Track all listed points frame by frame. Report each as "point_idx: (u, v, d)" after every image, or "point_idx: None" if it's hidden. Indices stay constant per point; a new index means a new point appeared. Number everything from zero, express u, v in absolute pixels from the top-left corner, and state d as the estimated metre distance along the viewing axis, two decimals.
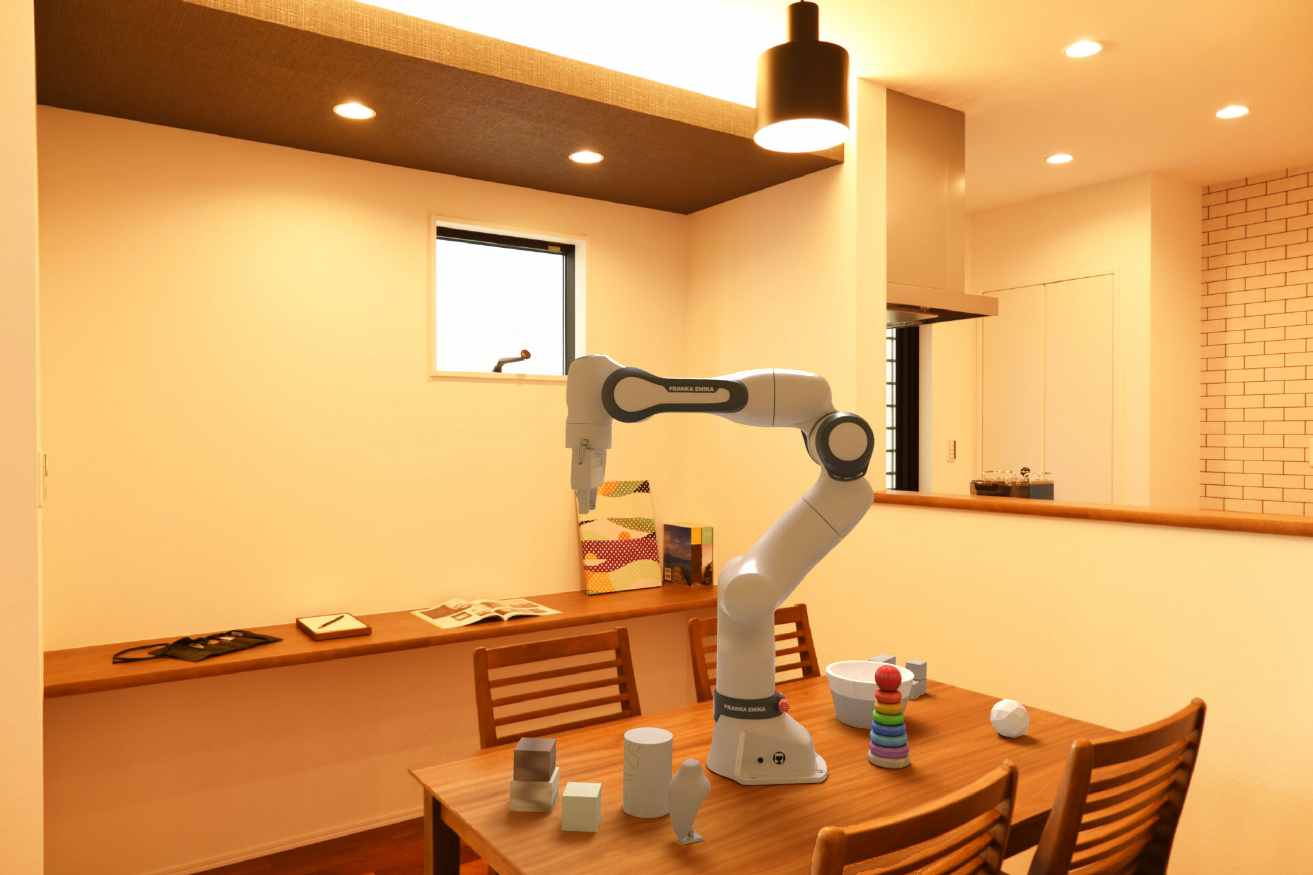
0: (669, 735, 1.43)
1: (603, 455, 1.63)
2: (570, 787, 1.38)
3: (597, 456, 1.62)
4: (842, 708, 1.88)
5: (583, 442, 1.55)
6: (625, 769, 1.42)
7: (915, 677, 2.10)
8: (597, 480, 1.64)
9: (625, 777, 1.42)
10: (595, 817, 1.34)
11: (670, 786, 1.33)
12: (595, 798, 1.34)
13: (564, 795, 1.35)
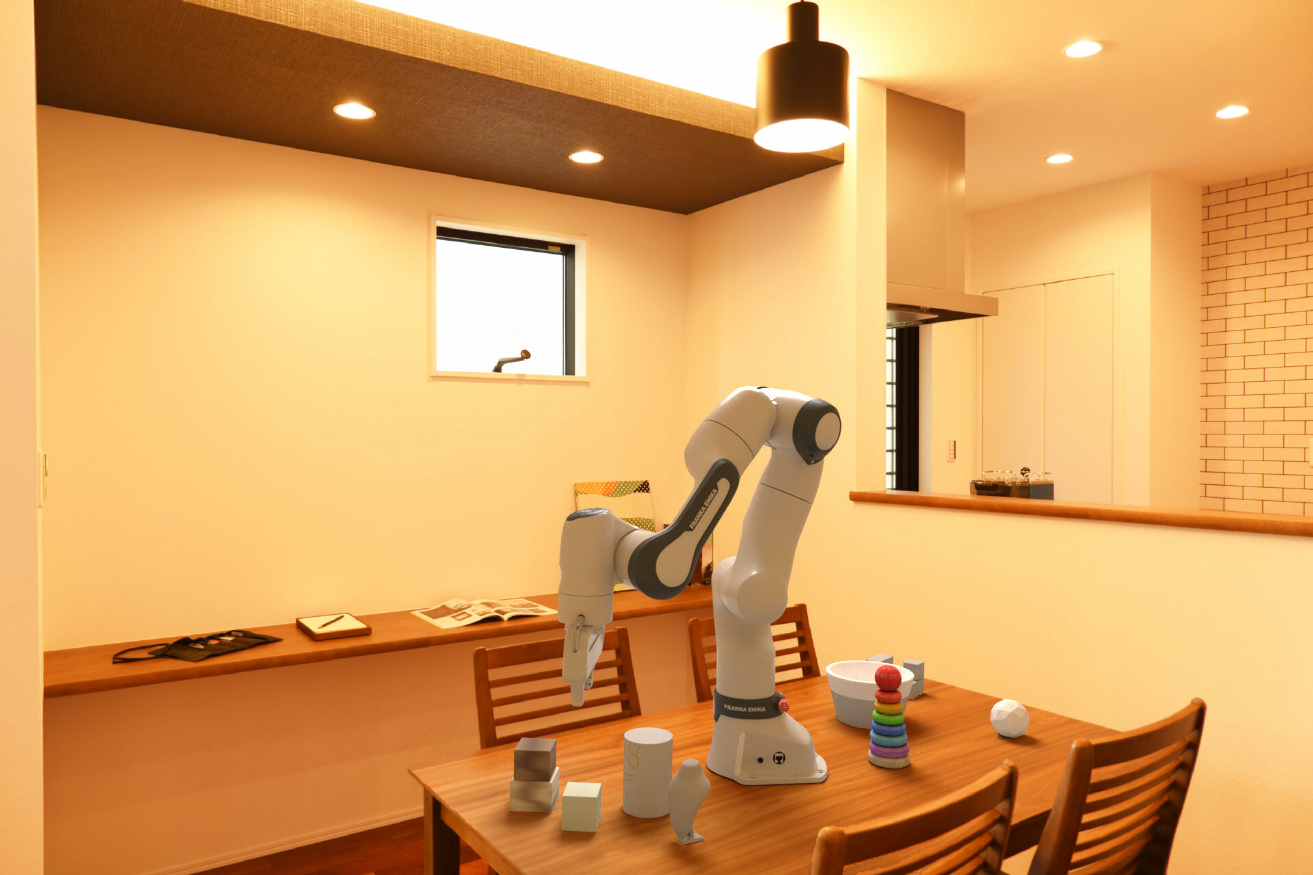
0: (669, 735, 1.43)
1: (602, 630, 1.37)
2: (570, 787, 1.38)
3: (595, 633, 1.35)
4: (842, 708, 1.88)
5: (578, 624, 1.29)
6: (625, 769, 1.42)
7: None
8: (595, 658, 1.38)
9: (625, 777, 1.42)
10: (595, 817, 1.34)
11: (670, 786, 1.33)
12: (595, 798, 1.34)
13: (564, 795, 1.35)
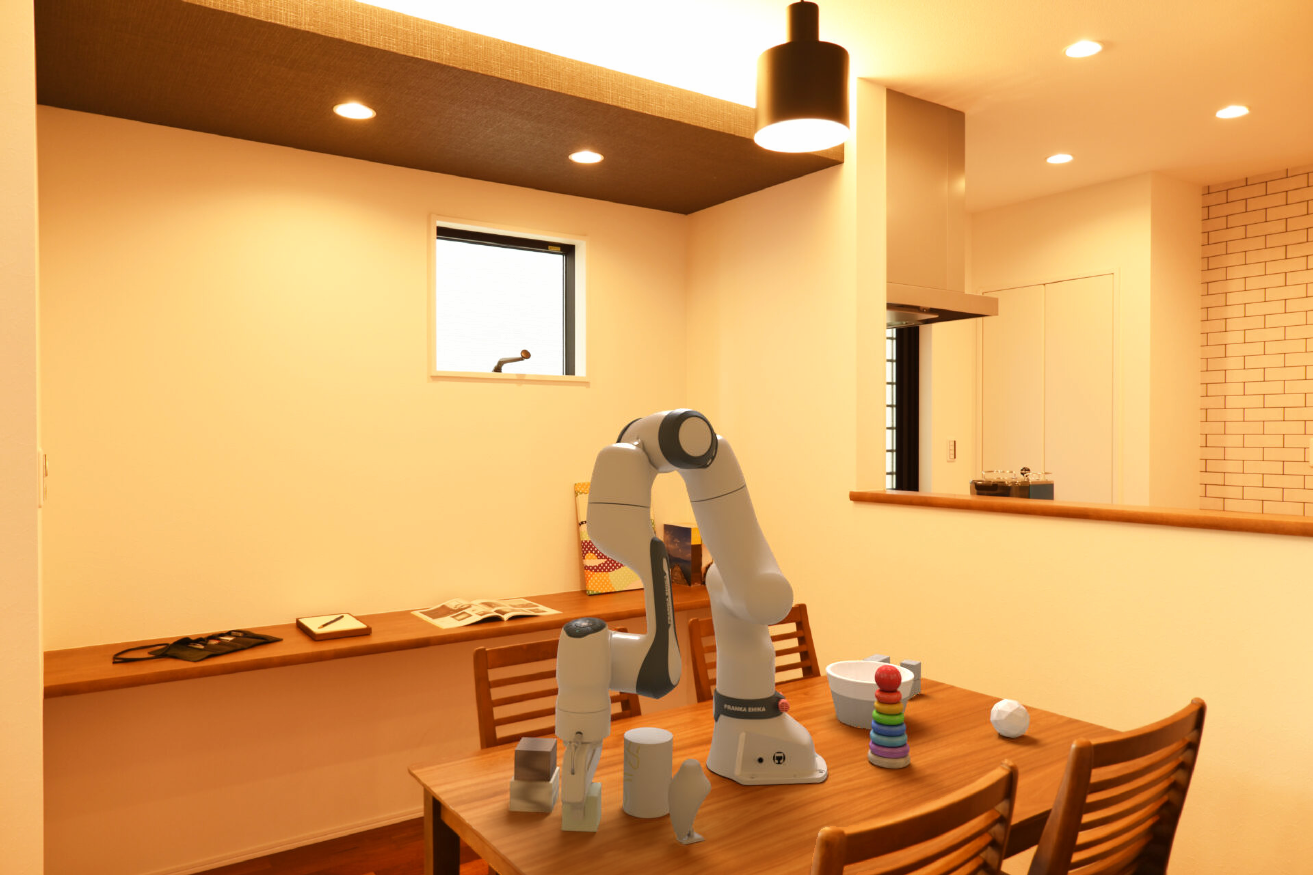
0: (669, 735, 1.43)
1: (600, 743, 1.36)
2: None
3: (593, 748, 1.35)
4: (842, 708, 1.88)
5: (576, 745, 1.28)
6: (625, 769, 1.42)
7: None
8: (593, 771, 1.37)
9: (625, 777, 1.42)
10: (595, 816, 1.34)
11: (670, 786, 1.33)
12: (595, 797, 1.34)
13: None
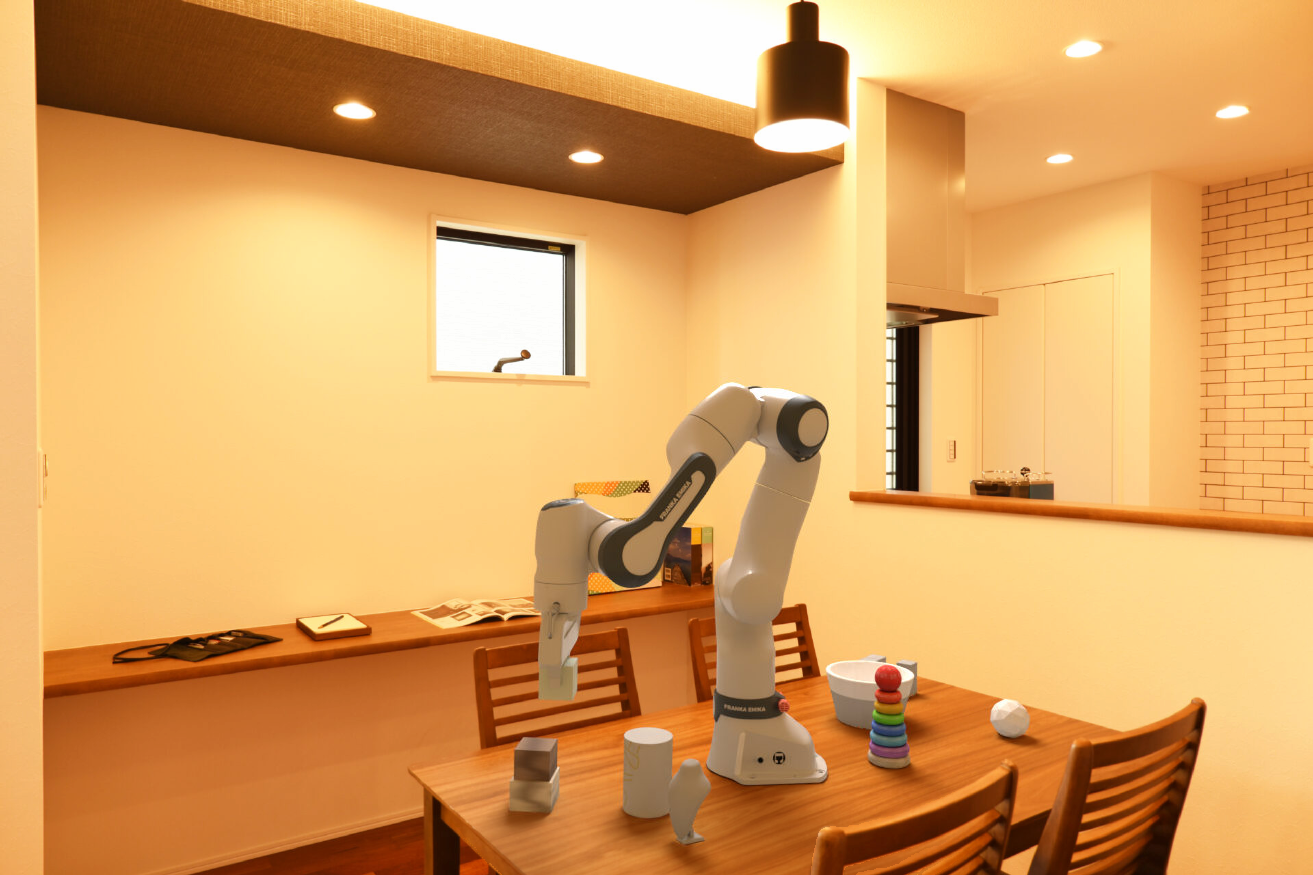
0: (669, 736, 1.43)
1: (577, 617, 1.40)
2: None
3: (570, 620, 1.38)
4: (842, 708, 1.88)
5: (553, 611, 1.32)
6: (625, 769, 1.42)
7: None
8: (570, 645, 1.41)
9: (625, 777, 1.42)
10: (571, 686, 1.38)
11: (670, 786, 1.33)
12: (571, 667, 1.38)
13: None
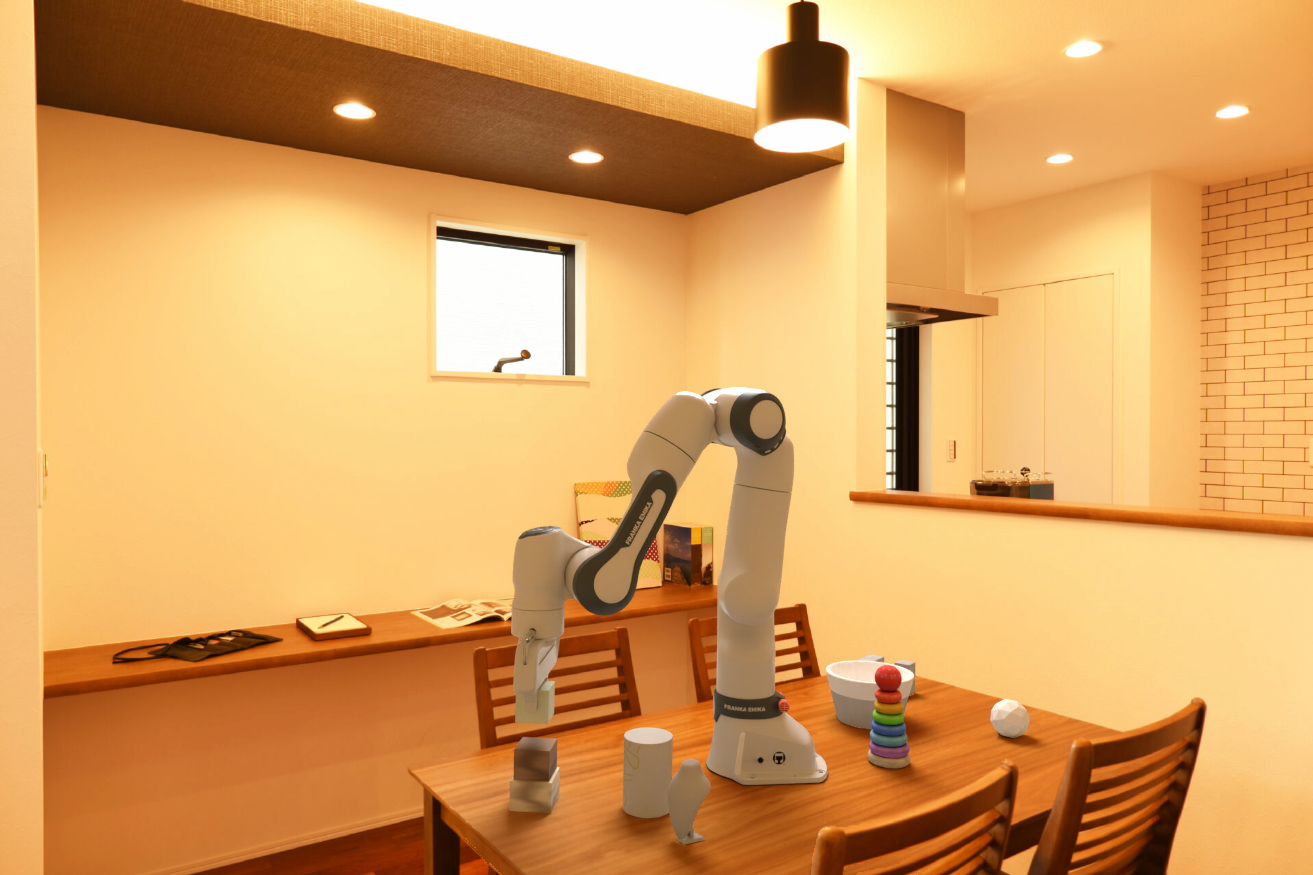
0: (669, 735, 1.43)
1: (554, 642, 1.44)
2: None
3: (546, 645, 1.42)
4: (842, 708, 1.88)
5: (528, 638, 1.36)
6: (625, 769, 1.42)
7: None
8: (547, 669, 1.45)
9: (625, 777, 1.42)
10: (547, 709, 1.42)
11: (670, 786, 1.33)
12: (547, 691, 1.42)
13: None
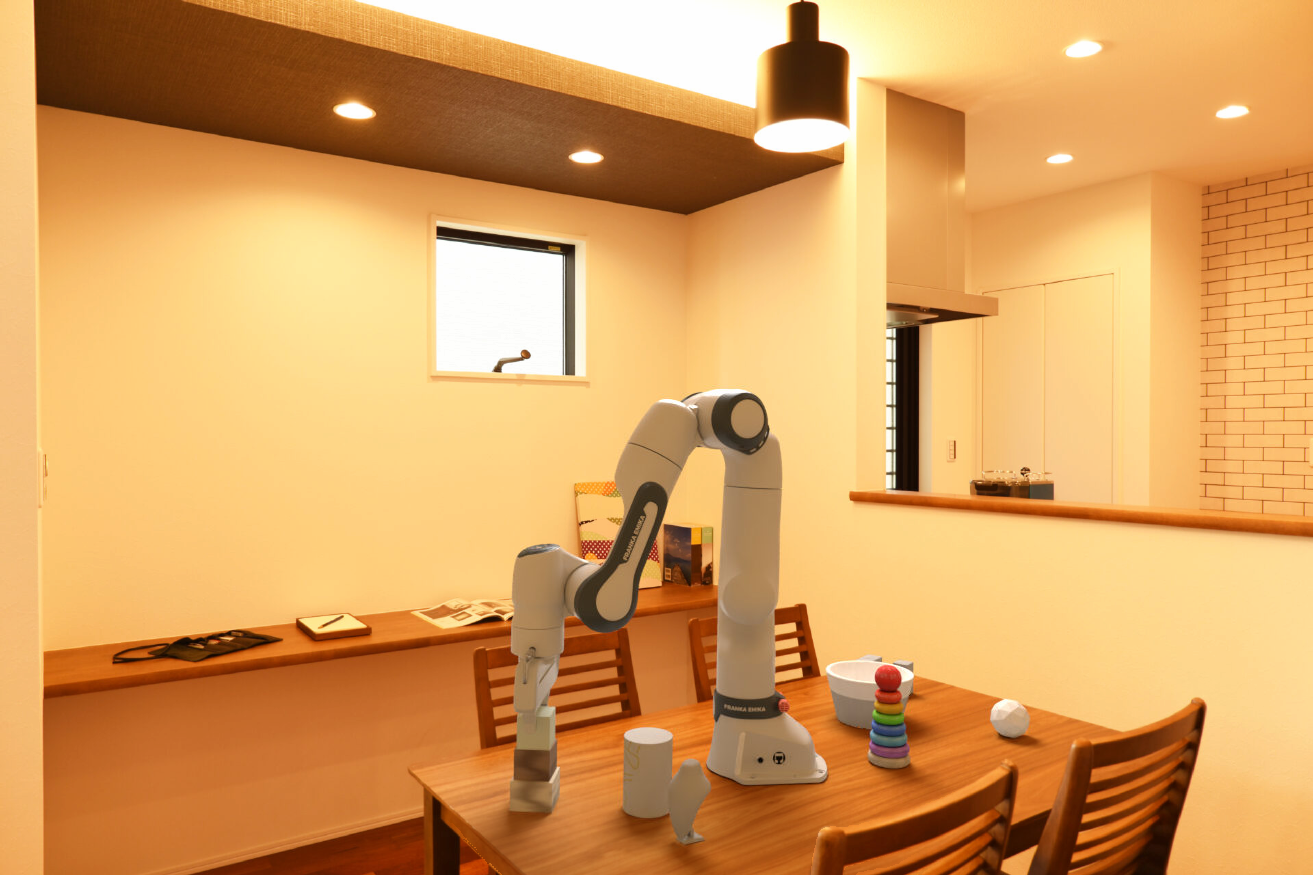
0: (669, 735, 1.43)
1: (554, 660, 1.44)
2: None
3: (546, 663, 1.42)
4: (842, 708, 1.88)
5: (528, 657, 1.36)
6: (625, 769, 1.42)
7: None
8: (547, 687, 1.45)
9: (625, 777, 1.42)
10: (548, 736, 1.42)
11: (670, 786, 1.33)
12: (548, 718, 1.42)
13: (519, 715, 1.42)
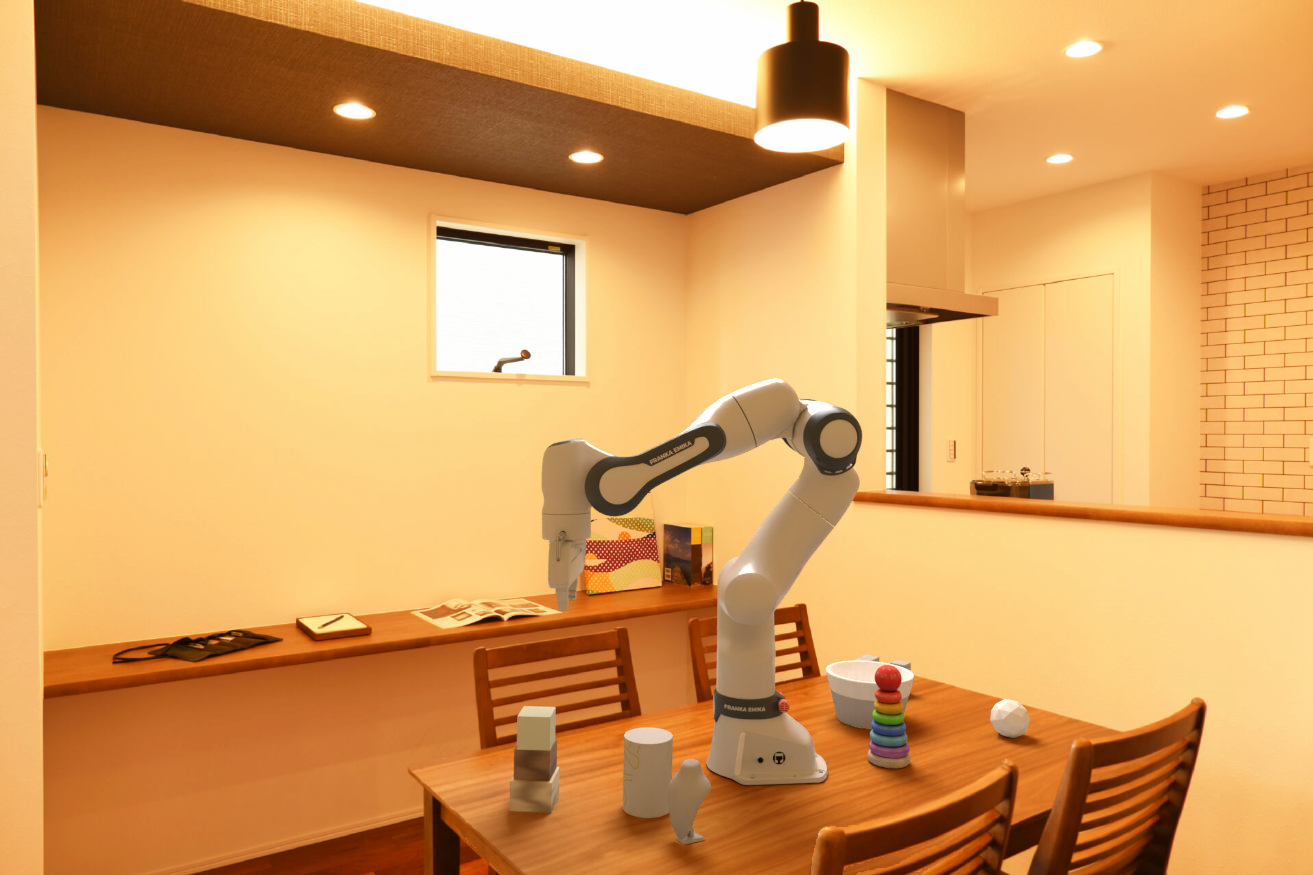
0: (669, 736, 1.43)
1: (582, 545, 1.54)
2: (525, 710, 1.45)
3: (576, 547, 1.53)
4: (842, 708, 1.88)
5: (560, 537, 1.46)
6: (625, 769, 1.42)
7: None
8: (577, 571, 1.55)
9: (625, 777, 1.42)
10: (548, 736, 1.42)
11: (670, 786, 1.33)
12: (548, 718, 1.42)
13: (519, 716, 1.42)
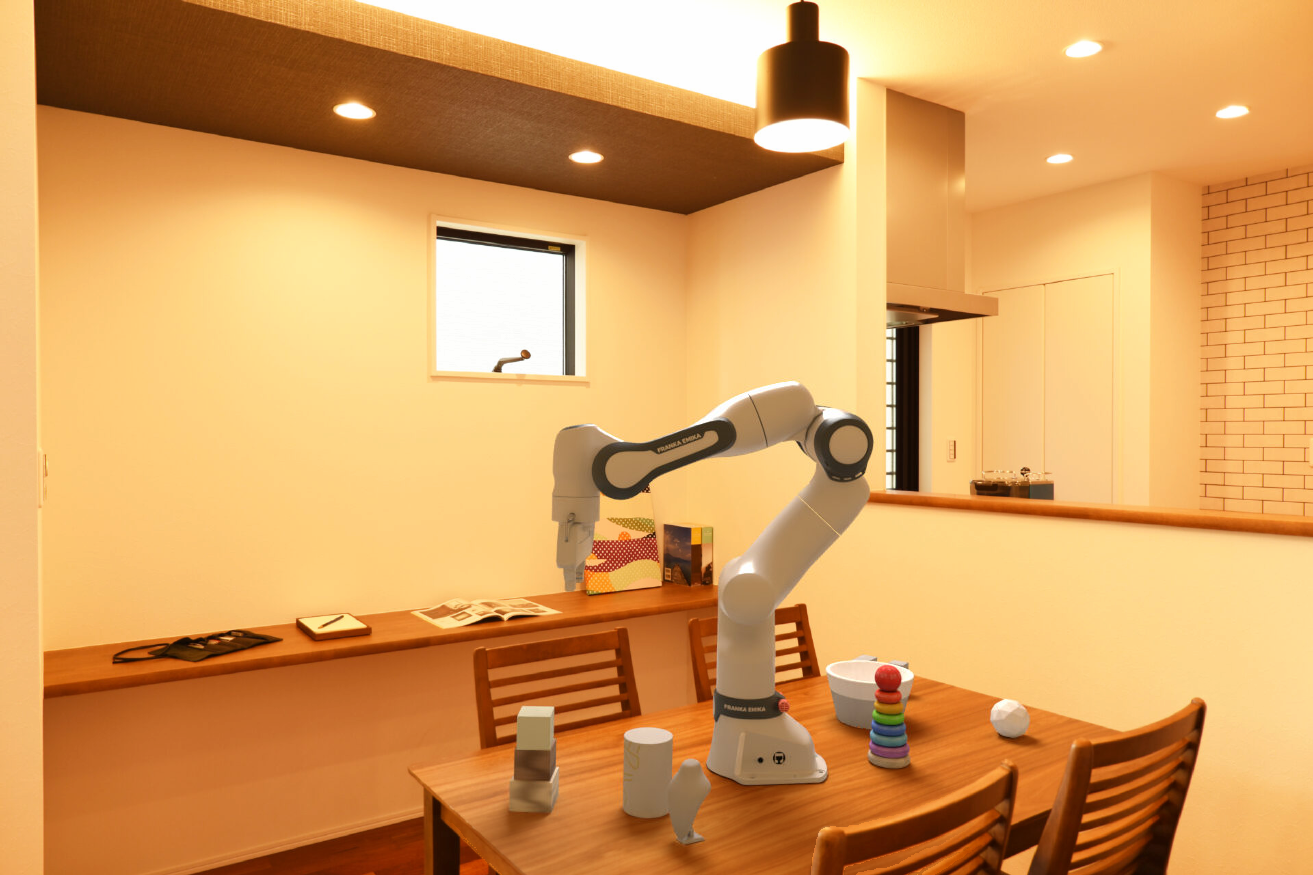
0: (669, 735, 1.43)
1: (591, 528, 1.57)
2: (524, 710, 1.45)
3: (584, 530, 1.56)
4: (842, 708, 1.88)
5: (569, 518, 1.50)
6: (625, 769, 1.42)
7: None
8: (584, 553, 1.58)
9: (625, 777, 1.42)
10: (548, 736, 1.42)
11: (670, 786, 1.33)
12: (548, 718, 1.42)
13: (519, 716, 1.42)
